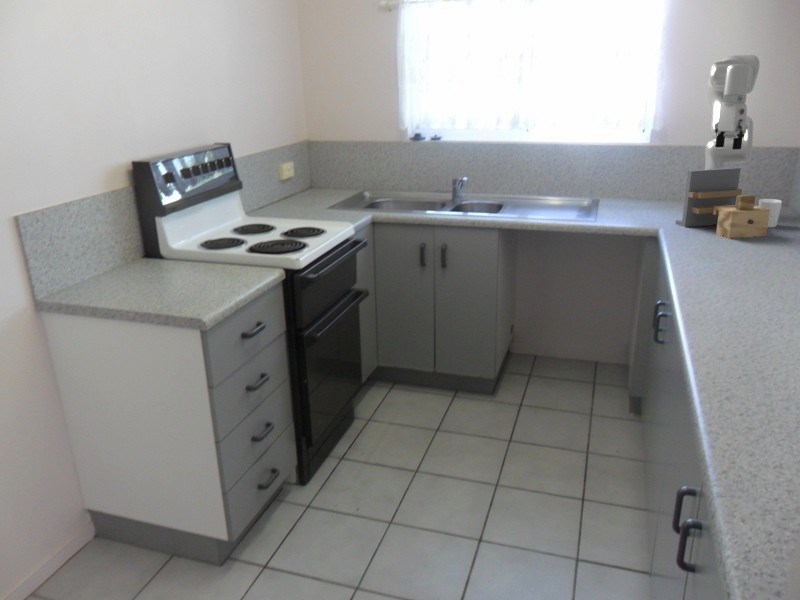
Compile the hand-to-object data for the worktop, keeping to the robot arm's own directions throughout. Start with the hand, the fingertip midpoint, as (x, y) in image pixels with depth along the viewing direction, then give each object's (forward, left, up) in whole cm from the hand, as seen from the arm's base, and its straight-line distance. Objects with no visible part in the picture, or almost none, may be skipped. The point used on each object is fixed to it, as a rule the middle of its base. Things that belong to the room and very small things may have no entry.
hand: (727, 148), depth 245 cm
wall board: (-3, -10, -31) cm, 33 cm away
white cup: (-23, -1, -31) cm, 39 cm away
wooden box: (-3, +8, -31) cm, 32 cm away
